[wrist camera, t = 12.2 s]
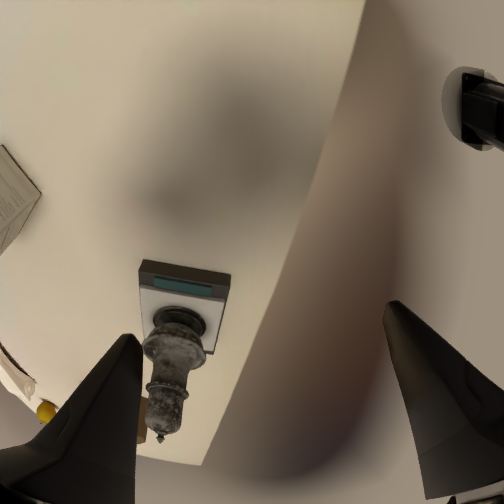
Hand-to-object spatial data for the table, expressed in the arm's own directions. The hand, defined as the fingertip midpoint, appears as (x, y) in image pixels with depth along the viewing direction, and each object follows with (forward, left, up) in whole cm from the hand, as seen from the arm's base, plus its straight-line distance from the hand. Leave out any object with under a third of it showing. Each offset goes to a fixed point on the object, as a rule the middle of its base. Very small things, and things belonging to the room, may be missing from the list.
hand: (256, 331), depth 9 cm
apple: (+68, +50, -13) cm, 85 cm away
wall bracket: (+60, +22, -13) cm, 65 cm away
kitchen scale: (+9, +12, -13) cm, 20 cm away
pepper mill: (+9, +12, -11) cm, 19 cm away
